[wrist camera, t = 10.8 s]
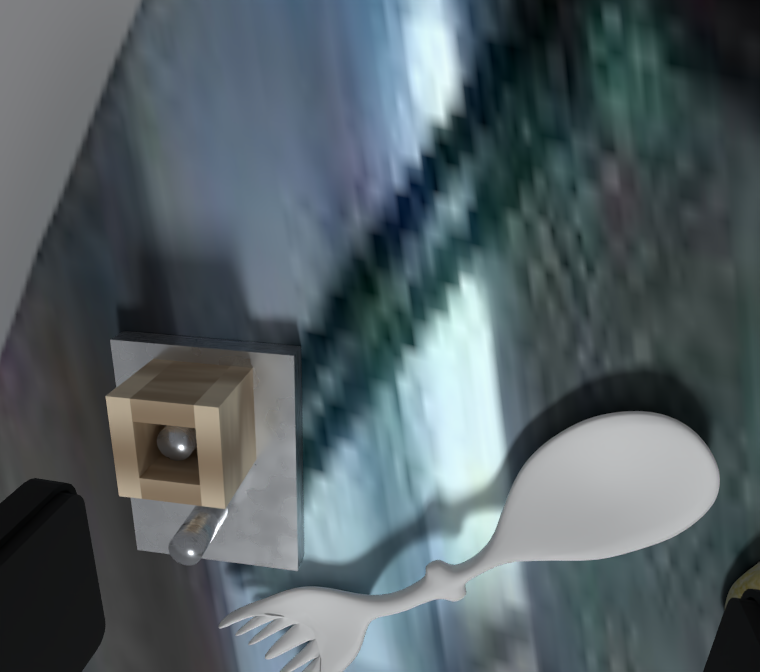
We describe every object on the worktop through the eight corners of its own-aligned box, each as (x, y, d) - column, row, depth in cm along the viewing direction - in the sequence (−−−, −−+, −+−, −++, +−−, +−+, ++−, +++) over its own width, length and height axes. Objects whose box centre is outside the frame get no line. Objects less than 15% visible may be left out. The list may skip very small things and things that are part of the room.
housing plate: (123, 331, 38) (68, 366, 33) (300, 346, 36) (272, 385, 31) (148, 535, 43) (104, 593, 38) (304, 555, 42) (279, 618, 37)
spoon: (230, 590, 44) (210, 629, 41) (655, 365, 34) (674, 392, 31) (307, 677, 46) (294, 720, 43) (734, 488, 36) (759, 526, 33)
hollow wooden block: (153, 358, 36) (105, 396, 32) (252, 367, 36) (218, 407, 31) (162, 448, 39) (119, 495, 34) (256, 459, 38) (225, 509, 33)
